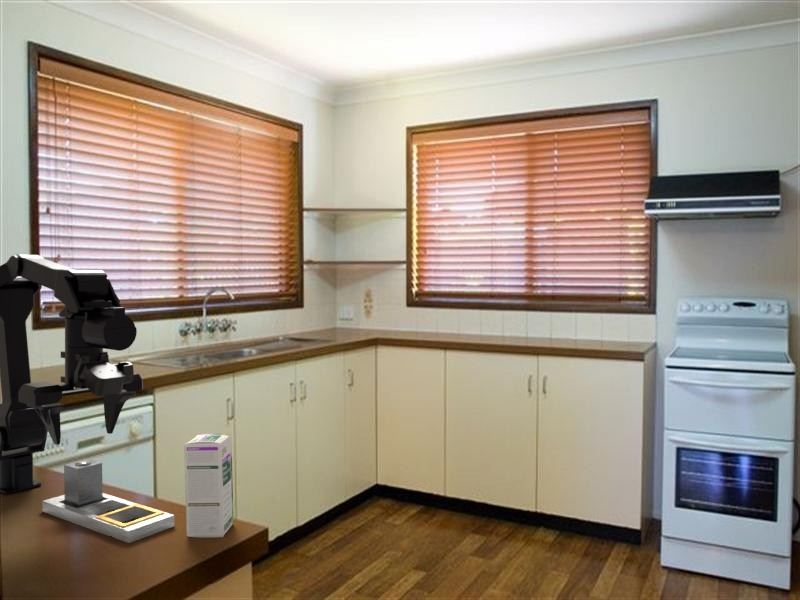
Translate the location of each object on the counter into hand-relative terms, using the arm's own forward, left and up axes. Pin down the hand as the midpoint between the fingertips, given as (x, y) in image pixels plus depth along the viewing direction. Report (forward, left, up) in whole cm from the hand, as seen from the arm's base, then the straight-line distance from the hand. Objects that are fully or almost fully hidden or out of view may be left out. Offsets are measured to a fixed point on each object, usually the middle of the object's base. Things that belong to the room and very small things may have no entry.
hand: (84, 438), depth 110 cm
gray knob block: (0, 0, -12) cm, 12 cm away
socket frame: (+6, 0, -12) cm, 14 cm away
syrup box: (+24, +6, -13) cm, 28 cm away
